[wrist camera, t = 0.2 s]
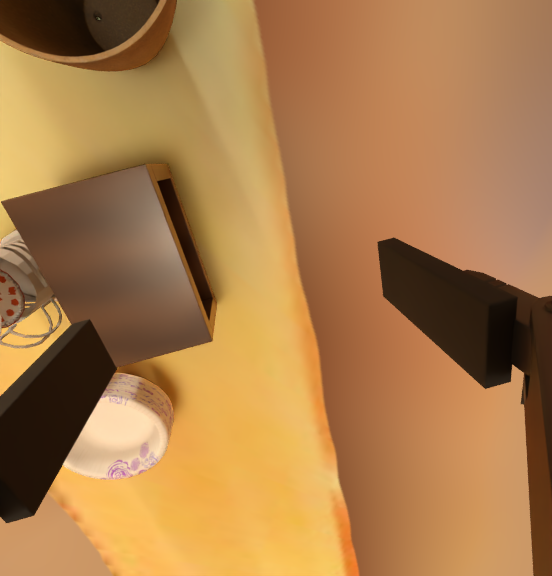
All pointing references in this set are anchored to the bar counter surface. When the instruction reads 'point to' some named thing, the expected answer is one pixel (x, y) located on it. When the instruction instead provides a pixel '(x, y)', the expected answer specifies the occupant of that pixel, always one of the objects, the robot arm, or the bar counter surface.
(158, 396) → the paper bowls
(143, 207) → the shelf
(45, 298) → the french press
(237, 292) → the bar counter surface
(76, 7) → the plant pot
